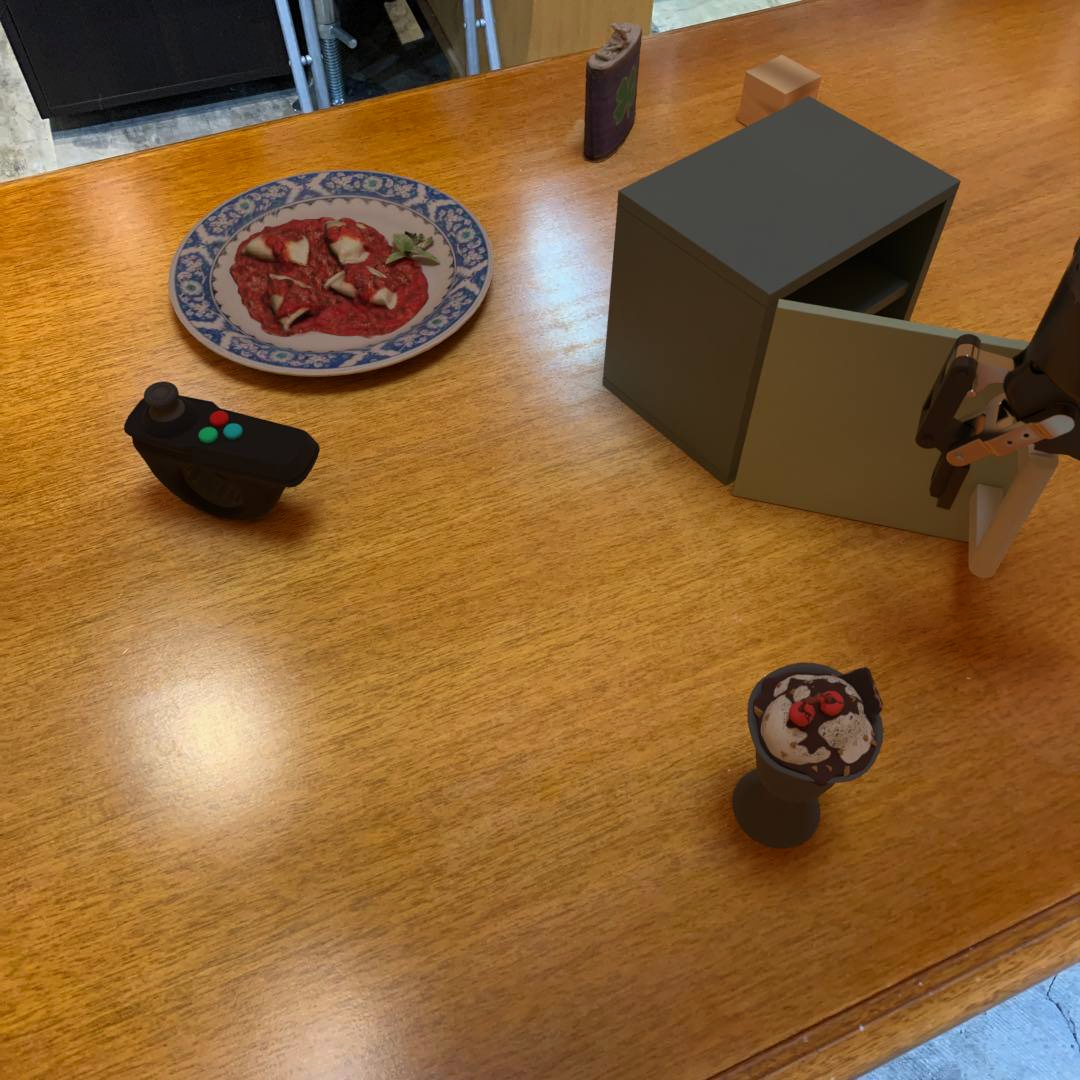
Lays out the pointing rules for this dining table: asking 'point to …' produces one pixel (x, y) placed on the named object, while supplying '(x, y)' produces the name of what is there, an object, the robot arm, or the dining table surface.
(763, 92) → the block
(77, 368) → the dining table surface
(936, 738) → the dining table surface
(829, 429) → the door
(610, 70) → the flask
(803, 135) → the cupboard
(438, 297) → the ceramic plate
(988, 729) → the dining table surface
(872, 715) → the sundae
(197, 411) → the controller
